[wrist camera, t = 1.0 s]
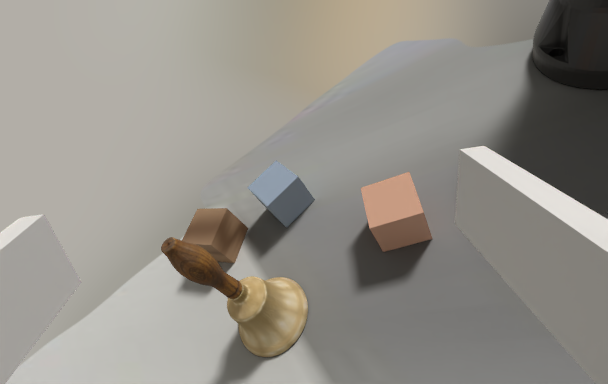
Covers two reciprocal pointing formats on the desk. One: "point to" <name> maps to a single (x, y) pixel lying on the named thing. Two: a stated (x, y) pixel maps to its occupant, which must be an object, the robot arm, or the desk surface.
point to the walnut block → (217, 233)
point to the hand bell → (247, 299)
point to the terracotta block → (395, 213)
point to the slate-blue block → (281, 193)
